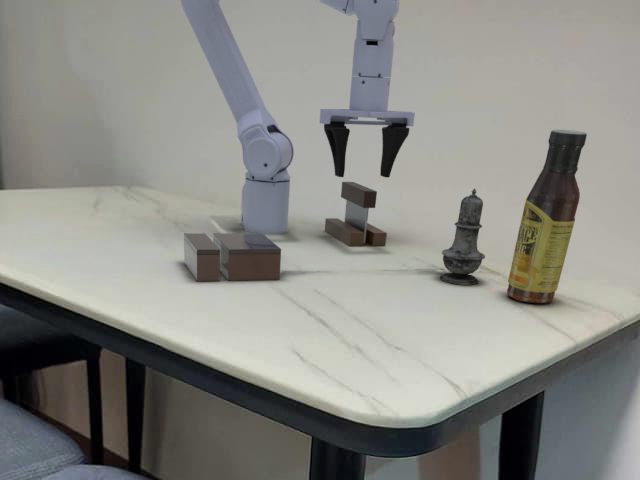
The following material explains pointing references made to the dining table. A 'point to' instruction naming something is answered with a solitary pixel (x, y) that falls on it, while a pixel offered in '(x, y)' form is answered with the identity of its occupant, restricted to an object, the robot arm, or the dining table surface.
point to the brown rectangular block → (202, 257)
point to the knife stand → (355, 234)
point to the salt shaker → (465, 244)
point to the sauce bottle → (547, 222)
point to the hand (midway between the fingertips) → (362, 176)
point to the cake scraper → (358, 204)
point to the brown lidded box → (248, 256)
